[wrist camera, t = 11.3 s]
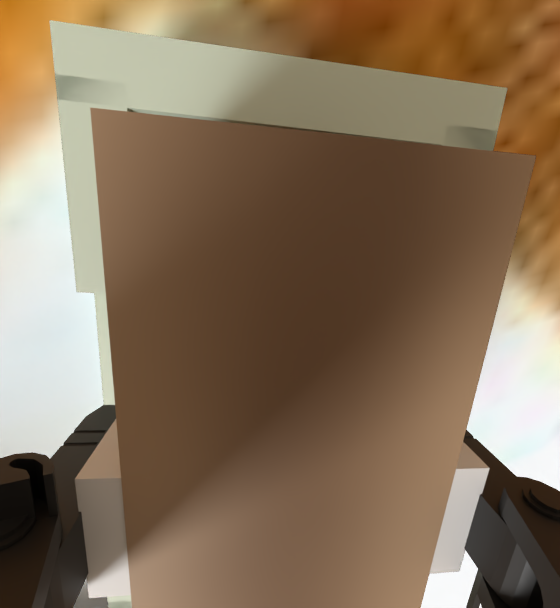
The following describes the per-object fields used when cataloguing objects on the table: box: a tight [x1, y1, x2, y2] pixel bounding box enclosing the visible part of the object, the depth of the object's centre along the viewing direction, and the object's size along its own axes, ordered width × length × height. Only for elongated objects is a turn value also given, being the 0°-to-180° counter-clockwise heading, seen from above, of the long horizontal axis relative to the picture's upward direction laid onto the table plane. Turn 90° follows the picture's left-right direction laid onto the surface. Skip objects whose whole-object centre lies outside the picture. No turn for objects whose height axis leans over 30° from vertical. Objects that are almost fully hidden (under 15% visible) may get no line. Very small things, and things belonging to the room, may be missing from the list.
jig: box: [50, 20, 507, 608], centre depth 11 cm, size 13×20×4 cm, turn 176°
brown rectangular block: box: [90, 108, 536, 608], centre depth 9 cm, size 6×14×7 cm, turn 176°
